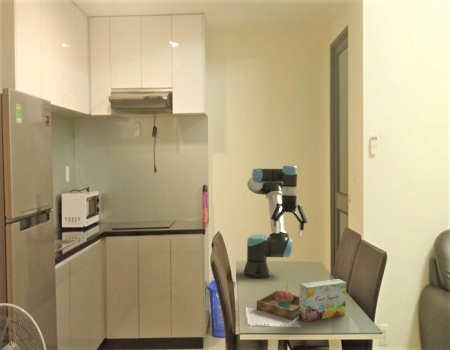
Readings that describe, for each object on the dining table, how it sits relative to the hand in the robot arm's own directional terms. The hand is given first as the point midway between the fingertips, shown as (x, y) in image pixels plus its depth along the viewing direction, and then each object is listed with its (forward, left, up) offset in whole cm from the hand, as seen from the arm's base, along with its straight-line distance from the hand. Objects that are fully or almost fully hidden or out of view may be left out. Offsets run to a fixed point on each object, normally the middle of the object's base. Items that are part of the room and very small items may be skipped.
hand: (288, 234), depth 200 cm
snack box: (+29, -23, -29) cm, 47 cm away
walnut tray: (+12, -26, -29) cm, 41 cm away
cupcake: (+12, -26, -28) cm, 40 cm away
